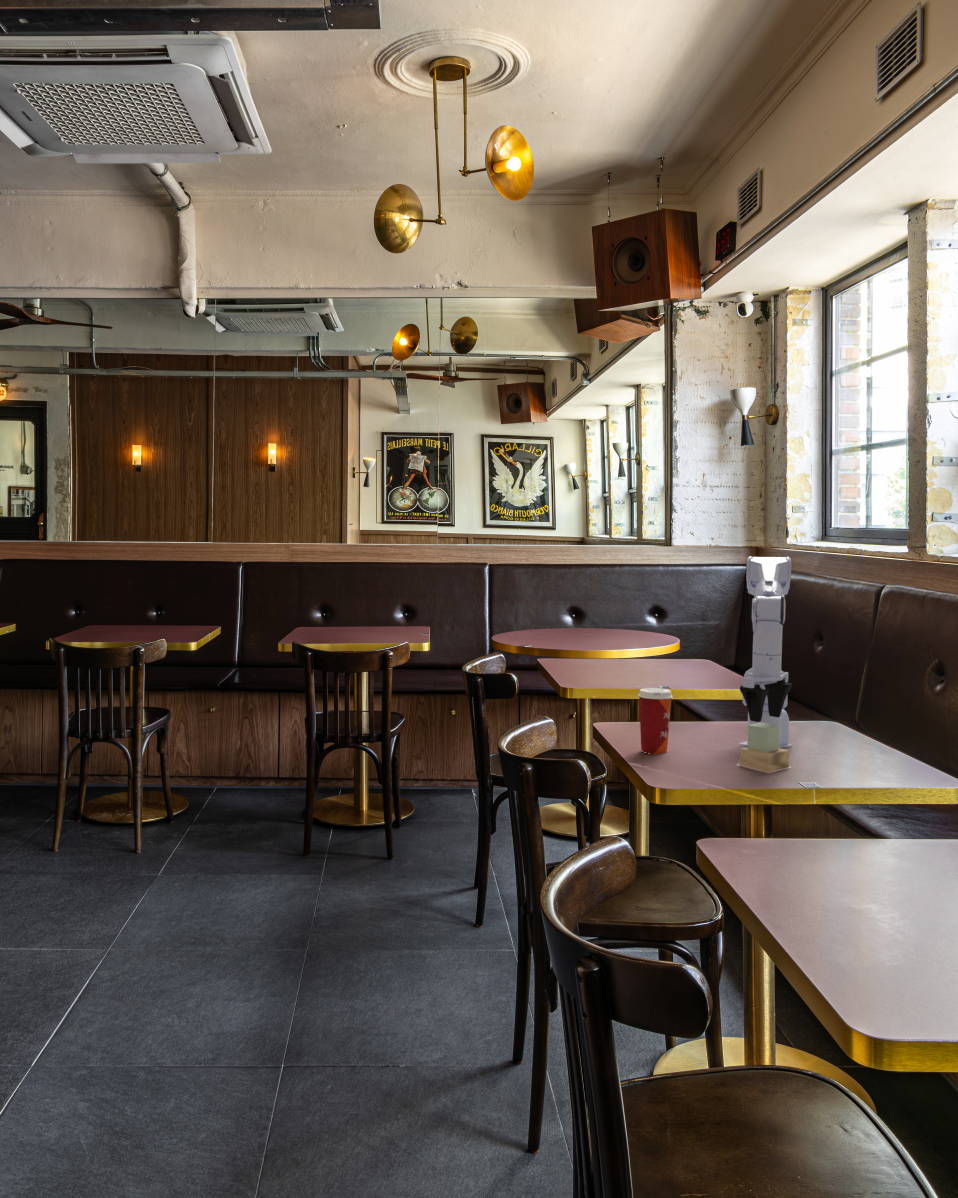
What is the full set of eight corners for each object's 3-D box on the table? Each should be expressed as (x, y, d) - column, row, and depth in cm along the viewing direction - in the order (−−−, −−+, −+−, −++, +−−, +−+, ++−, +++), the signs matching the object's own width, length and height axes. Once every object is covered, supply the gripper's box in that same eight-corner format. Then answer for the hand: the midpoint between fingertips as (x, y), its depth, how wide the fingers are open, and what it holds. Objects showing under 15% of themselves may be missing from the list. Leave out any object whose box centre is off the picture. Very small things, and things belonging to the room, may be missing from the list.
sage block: (758, 745, 185) (759, 722, 185) (778, 749, 181) (779, 725, 181) (747, 748, 182) (748, 725, 181) (767, 752, 178) (768, 728, 178)
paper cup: (674, 756, 191) (676, 693, 190) (639, 756, 191) (640, 692, 190) (667, 748, 199) (669, 687, 198) (634, 747, 199) (635, 687, 198)
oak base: (759, 760, 186) (760, 744, 186) (788, 767, 181) (789, 750, 181) (739, 765, 182) (739, 748, 182) (768, 772, 177) (768, 755, 176)
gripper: (767, 649, 188) (765, 711, 189) (730, 654, 178) (729, 720, 179) (798, 652, 183) (796, 716, 184) (762, 658, 173) (760, 725, 174)
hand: (765, 718), depth 181 cm, fingers open, 7 cm apart
